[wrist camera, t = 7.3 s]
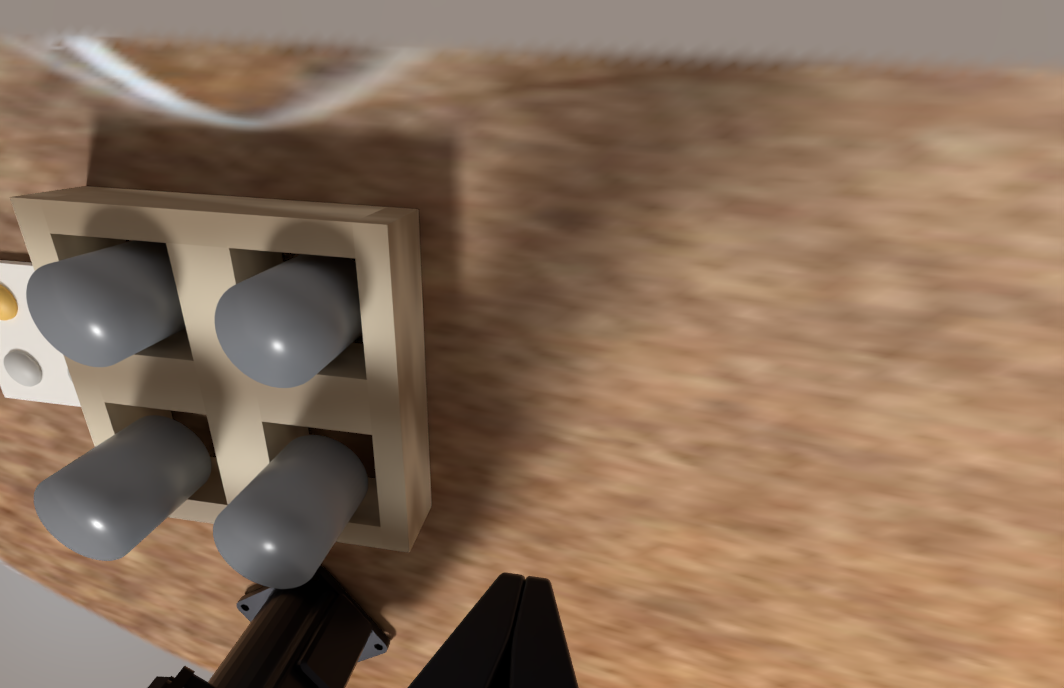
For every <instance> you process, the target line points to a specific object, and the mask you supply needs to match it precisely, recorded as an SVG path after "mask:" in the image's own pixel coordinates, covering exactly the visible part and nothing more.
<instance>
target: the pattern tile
mask: <svg viewBox="0 0 1064 688" xmlns="http://www.w3.org/2000/svg"><path fill="white" fill-rule="evenodd" d="M33 272H34V268H33V265H32V263H30V262H19V261H7V260H0V386H1V389H2V391H3V394H4V396H5V397H6V398H14V399H22V400H30V401H38V402H46V403H55V404H63V405H71V406H79V407H81V405H80V402H79V399H78V396H77V393H76V390H75V388H74V385H73V382H72V379H71V376H70V373H69V370H68V367H67V364H66V361H65V358H64V355H63V354H62V353H60V352H59V351H58V350H57V349H55V348H54V347H53V346H52V345H51V344H50V343H49V342H48V341H47V340H46V339H45V338H44V336H43V335H42V334H41V332H40V331H39V330H38V328H37V326H36V325H35V323H34V321H33V319H32V317H31V314H30V312H29V309H28V305H27V299H26V289H27V284H28V281H29V279H30V277H31V275H32V274H33Z"/></svg>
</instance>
